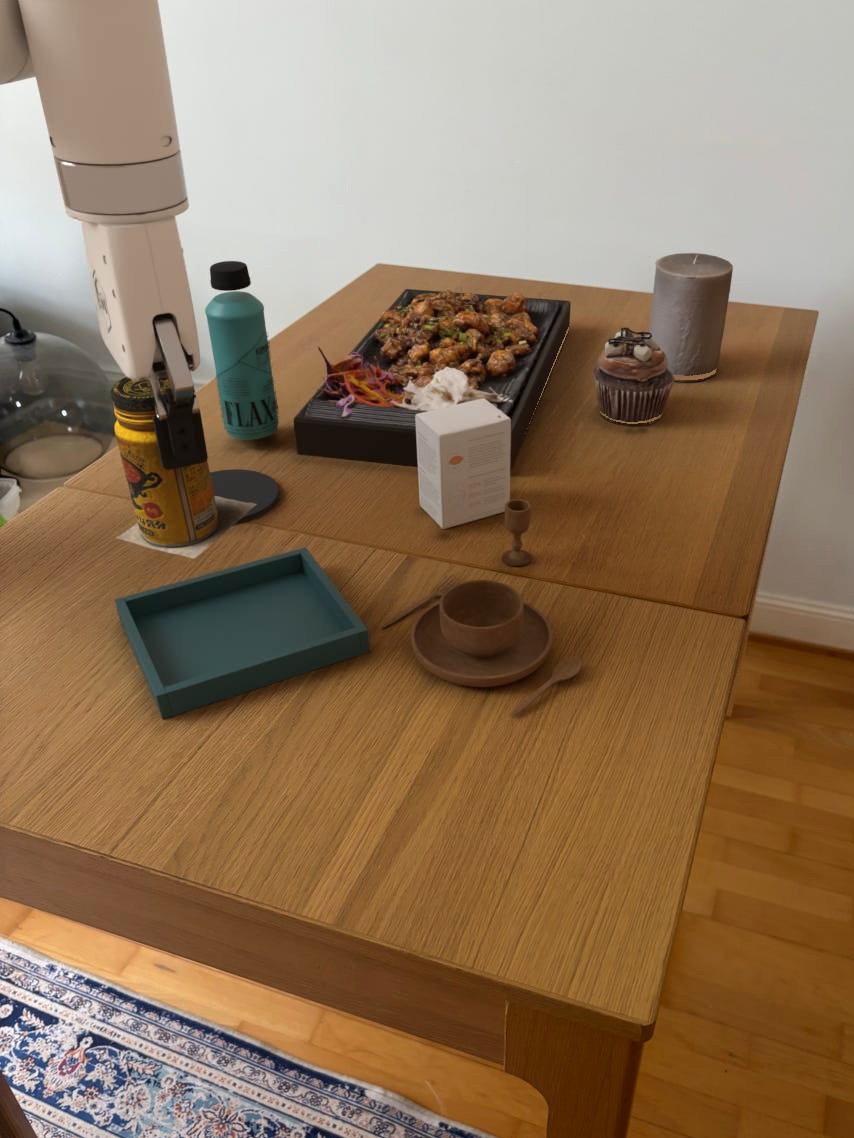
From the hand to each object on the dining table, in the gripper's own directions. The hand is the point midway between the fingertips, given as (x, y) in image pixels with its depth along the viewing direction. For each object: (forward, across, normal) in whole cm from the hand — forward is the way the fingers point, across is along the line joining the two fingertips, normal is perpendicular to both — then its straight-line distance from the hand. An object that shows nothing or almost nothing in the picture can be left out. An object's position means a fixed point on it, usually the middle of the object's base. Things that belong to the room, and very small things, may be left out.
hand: (172, 442), depth 72 cm
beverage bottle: (+19, -35, +16) cm, 43 cm away
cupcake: (+18, -20, +59) cm, 65 cm away
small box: (+19, -9, +30) cm, 36 cm away
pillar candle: (+18, -28, +73) cm, 80 cm away
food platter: (+19, -38, +43) cm, 60 cm away
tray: (+19, +1, +3) cm, 19 cm away
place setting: (+18, +11, +24) cm, 32 cm away
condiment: (+7, 0, 0) cm, 7 cm away
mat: (+19, -23, +9) cm, 31 cm away
